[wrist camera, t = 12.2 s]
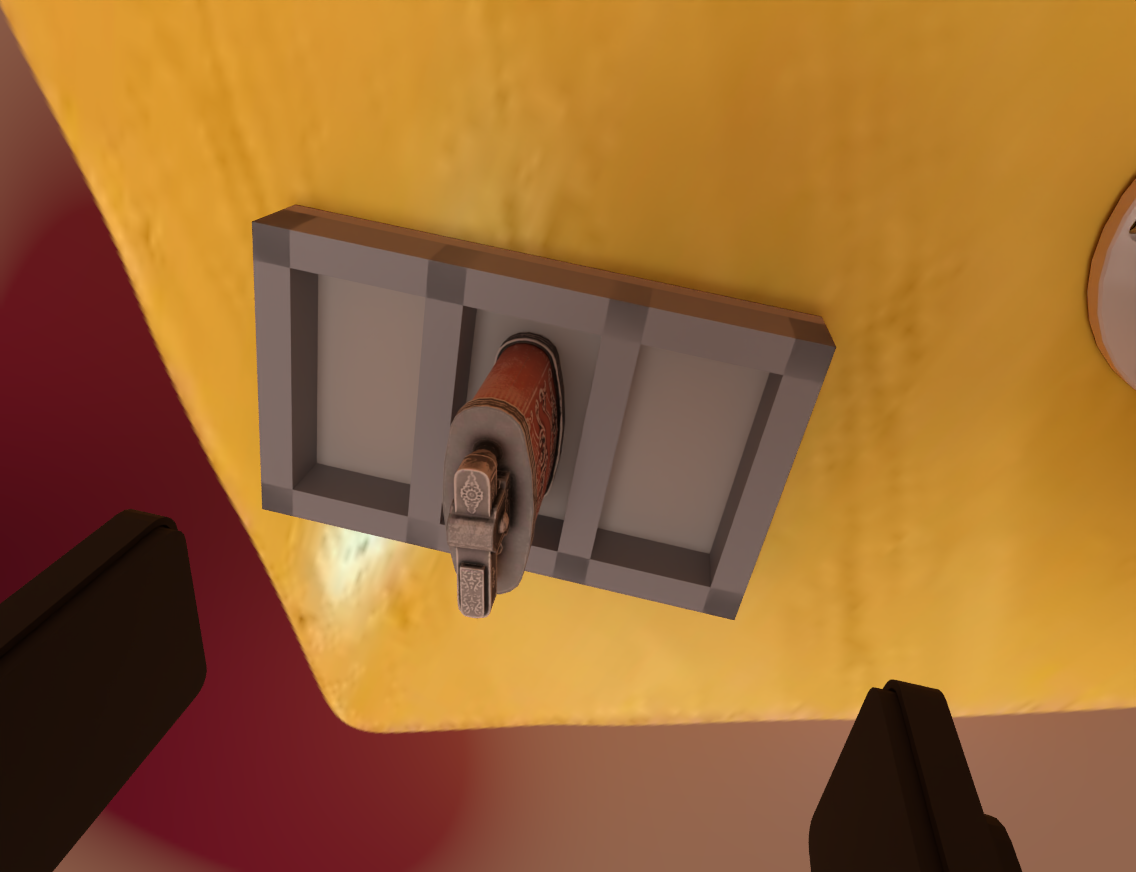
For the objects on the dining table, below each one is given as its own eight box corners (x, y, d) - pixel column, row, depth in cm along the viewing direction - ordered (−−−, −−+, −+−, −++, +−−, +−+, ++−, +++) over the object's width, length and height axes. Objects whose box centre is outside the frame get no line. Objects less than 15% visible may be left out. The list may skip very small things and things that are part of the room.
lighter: (491, 328, 32) (413, 435, 23) (569, 335, 31) (521, 447, 22) (491, 488, 35) (425, 633, 27) (561, 496, 35) (517, 646, 26)
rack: (821, 316, 30) (836, 347, 27) (731, 572, 37) (734, 620, 34) (295, 204, 31) (252, 221, 28) (297, 471, 38) (262, 508, 35)
